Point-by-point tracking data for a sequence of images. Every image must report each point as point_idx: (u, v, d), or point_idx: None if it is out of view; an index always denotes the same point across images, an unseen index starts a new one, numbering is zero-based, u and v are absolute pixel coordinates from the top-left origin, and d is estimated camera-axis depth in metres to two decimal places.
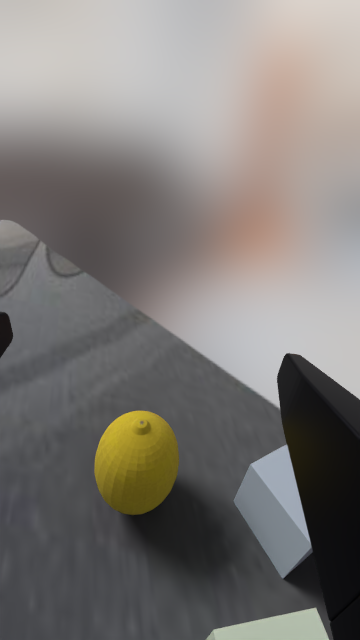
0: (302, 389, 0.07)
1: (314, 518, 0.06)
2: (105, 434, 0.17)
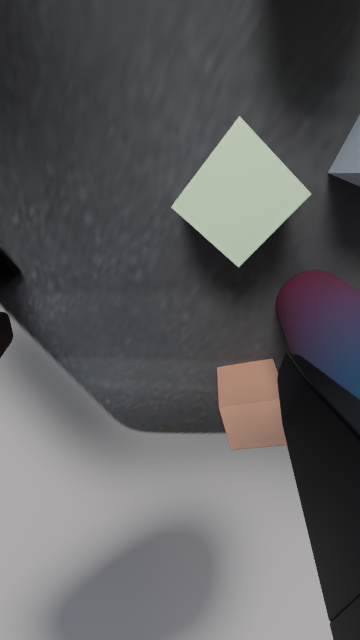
0: (302, 389, 0.07)
1: (314, 518, 0.06)
2: None
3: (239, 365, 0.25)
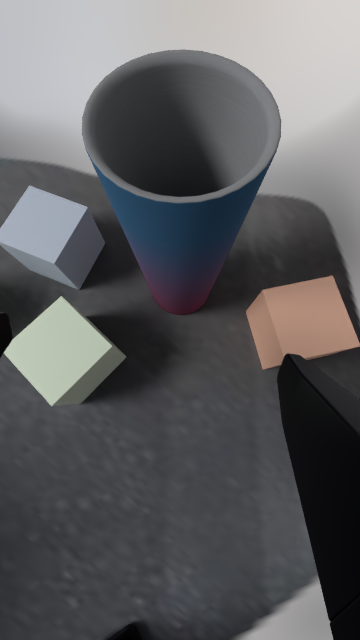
0: (302, 389, 0.07)
1: (314, 518, 0.06)
2: None
3: (256, 344, 0.22)
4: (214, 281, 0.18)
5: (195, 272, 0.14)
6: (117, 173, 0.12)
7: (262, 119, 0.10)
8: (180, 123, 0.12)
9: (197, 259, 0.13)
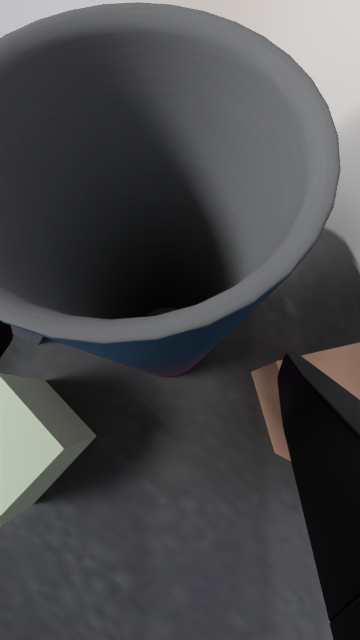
0: (302, 389, 0.07)
1: (314, 518, 0.06)
2: None
3: (265, 418, 0.17)
4: None
5: (177, 366, 0.09)
6: (38, 223, 0.07)
7: (292, 134, 0.05)
8: (146, 139, 0.08)
9: (176, 362, 0.08)
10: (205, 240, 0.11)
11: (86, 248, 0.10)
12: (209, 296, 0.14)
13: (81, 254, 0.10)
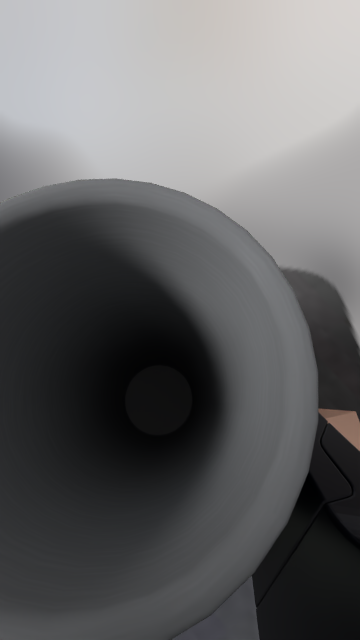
0: None
1: None
2: None
3: None
4: None
5: None
6: (12, 359, 0.07)
7: (273, 337, 0.05)
8: (130, 268, 0.07)
9: None
10: (194, 337, 0.10)
11: (69, 349, 0.09)
12: (199, 374, 0.13)
13: (64, 357, 0.09)
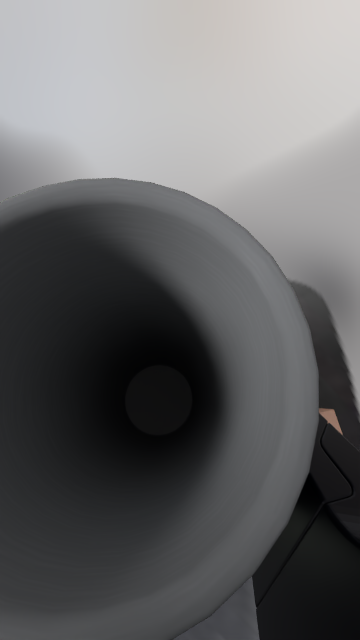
0: None
1: None
2: None
3: None
4: None
5: None
6: (11, 359, 0.07)
7: (273, 336, 0.05)
8: (130, 268, 0.07)
9: None
10: (194, 337, 0.10)
11: (69, 349, 0.09)
12: (199, 374, 0.13)
13: (64, 357, 0.09)
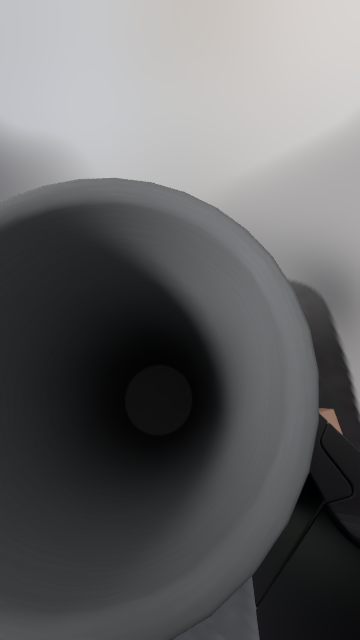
0: None
1: None
2: None
3: None
4: None
5: None
6: (11, 359, 0.07)
7: (273, 336, 0.05)
8: (130, 268, 0.07)
9: None
10: (194, 337, 0.10)
11: (69, 349, 0.09)
12: (199, 374, 0.13)
13: (64, 357, 0.09)
